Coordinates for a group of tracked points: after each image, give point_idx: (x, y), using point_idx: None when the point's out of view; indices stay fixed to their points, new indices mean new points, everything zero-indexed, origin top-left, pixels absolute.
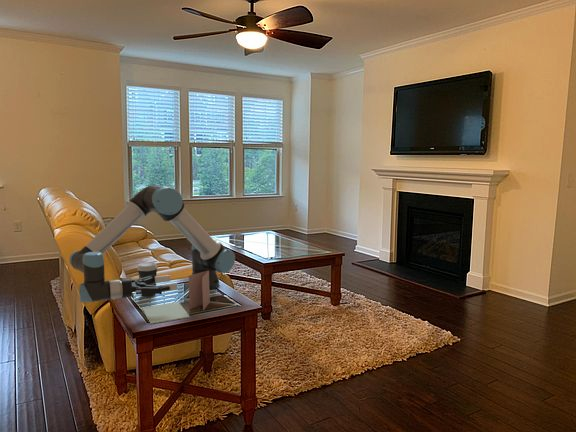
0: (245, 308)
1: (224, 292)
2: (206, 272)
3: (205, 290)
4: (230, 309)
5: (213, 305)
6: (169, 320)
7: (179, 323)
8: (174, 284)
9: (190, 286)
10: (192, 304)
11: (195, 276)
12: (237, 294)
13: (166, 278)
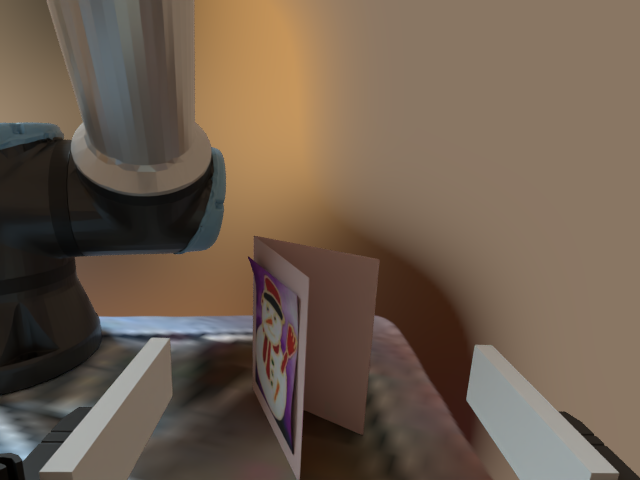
0: (383, 333)
1: (180, 332)
2: (259, 247)
3: (317, 334)
4: (379, 360)
5: None
6: None
7: None
8: (505, 366)
9: (300, 347)
10: (292, 448)
11: (285, 276)
12: (234, 316)
13: (155, 389)
